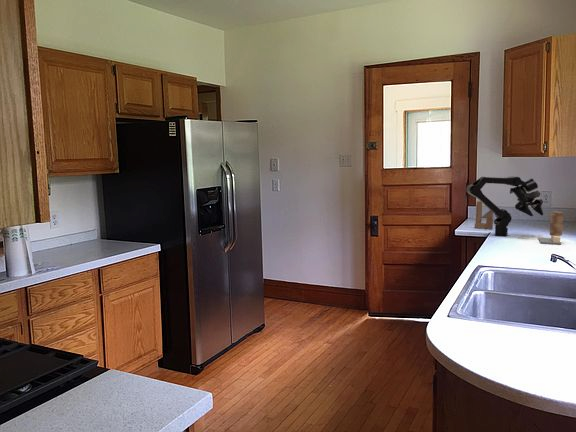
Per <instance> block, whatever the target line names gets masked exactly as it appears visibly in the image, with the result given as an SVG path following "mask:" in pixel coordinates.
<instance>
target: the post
mask: <svg viewBox="0 0 576 432" xmlns="http://www.w3.org/2000/svg"><path fill="white" fill-rule="evenodd" d="M563 225H564V211H550V225H549V236H551V235H553V236H560V237H561V236H563V228H564V227H563Z"/></svg>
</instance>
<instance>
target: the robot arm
mask: <svg viewBox="0 0 576 432" xmlns="http://www.w3.org/2000/svg"><path fill="white" fill-rule="evenodd" d="M486 184H493V185H494V184H496V185H497V184H498V185H507V186H512V187H510V189H509V195H510V194H514V195H515V196H516V198H517V199H516V200H517V203H516V204H515V205H514V208H515V210H517V211H519V212H522V213H524V214H526V215H528V216H529V217H533V216H534V214H533V213H532V211H533V210H534V212H536V213H538V214H539V215H540V216H544V211H543V208H542V205H543V203H544V200H543V199H541V198H540V199H537V198H539V197H541V192H540V191H539V190H537V189H539V186H538V183H537V182H536V181H535V180H534V178H529V179H527V180H525V181H523V180H522V179H521V177H519V176H514V175H513V176H506V177H490V176H481V177H479V178H478V179H477V180H475V181H474V182H471V184H468V185H467V186H466V188H465V189H466V190H465V191H466V193H467V194H469V195H470V196H472V197H474V198H476V199H477V200H478V201H481V202H482V205H484V206H485V207H486V208H487V209H489V210H491V211H492V212H493V215H495V217H496V218H495V219H493V225H495V226H494V227H495V229H494V236H498V237H507V236H508V230H509V229H508V226H509V223H511V222H512V215H511V213H510V212H508V210H506V209H504V208H501V209H500V208H499V207H498V206H497V205H496V204H494V202H493V201H491V200H490V199H489V198H488V197H487V196H486V195H485V194H484V193H483V191H482V188H484V186H485V185H486ZM534 190H535V191H534ZM530 207H531V208H532V211H531V209H530Z"/></svg>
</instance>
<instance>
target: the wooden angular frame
mask: <svg viewBox="0 0 576 432" xmlns="http://www.w3.org/2000/svg"><path fill="white" fill-rule="evenodd" d="M475 207H476V208H475V222H474V229H479V230H493V228H494V213H493V212H492V211H491V210H490V209H489V210H488V211H487V212H485V214H483V203H482V202H481V201H480V200H477V201H476V206H475ZM482 214H483V215H482ZM482 219H485V220H486V221H485V222H482Z"/></svg>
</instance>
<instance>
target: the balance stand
mask: <svg viewBox="0 0 576 432" xmlns="http://www.w3.org/2000/svg"><path fill="white" fill-rule="evenodd" d="M537 240H538V241H539V243H540V245H554V246H555V245H557V246H561V245H562V242H561V236H553V235H550V237H537Z"/></svg>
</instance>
